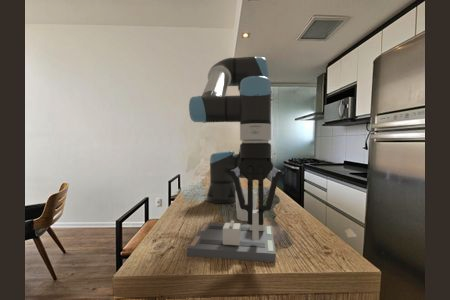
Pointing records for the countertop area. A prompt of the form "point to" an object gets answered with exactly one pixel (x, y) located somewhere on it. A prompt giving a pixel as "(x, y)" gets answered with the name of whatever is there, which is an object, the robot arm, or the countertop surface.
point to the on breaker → (261, 227)
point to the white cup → (243, 213)
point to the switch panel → (247, 249)
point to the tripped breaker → (231, 233)
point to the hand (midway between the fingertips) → (255, 237)
